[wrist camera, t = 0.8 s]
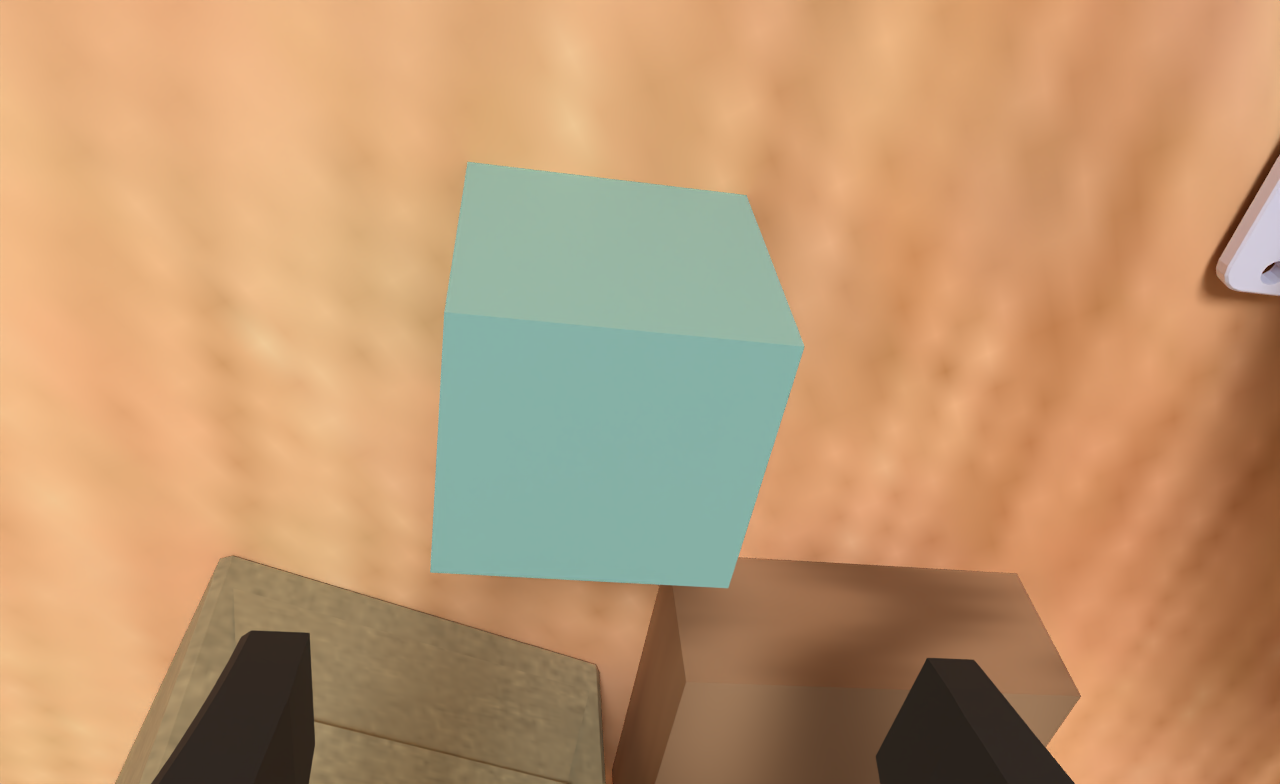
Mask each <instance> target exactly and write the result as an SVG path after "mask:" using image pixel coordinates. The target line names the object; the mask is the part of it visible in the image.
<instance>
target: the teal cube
mask: <svg viewBox="0 0 1280 784" xmlns="http://www.w3.org/2000/svg"><path fill="white" fill-rule="evenodd" d="M803 350H804V344H803V341H802V339H801V336H800V334H799V331H798V328H797V326H796V323H795V321H794V318H793V315H792V313H791V310H790V308H789V305H788V302H787V300H786V297H785V295H784V292H783V289H782V287H781V284H780V282H779V279H778V276H777V274H776V271H775V269H774V266H773V263H772V261H771V258H770V256H769V253H768V250H767V248H766V245H765V243H764V240H763V237H762V235H761V232H760V229H759V227H758V224H757V222H756V219H755V216H754V214H753V211H752V209H751V206H750V203H749V201H748V198H747V196H746V195H741V194H732V193H724V192H715V191H707V190H699V189H690V188H682V187H674V186H665V185H657V184H648V183H640V182H632V181H623V180H615V179H607V178H598V177H590V176H581V175H573V174H565V173H556V172H548V171H539V170H531V169H523V168H514V167H506V166H498V165H489V164H481V163H472V162H468V163H467V169H466V176H465V182H464V189H463V195H462V202H461V208H460V215H459V221H458V228H457V234H456V241H455V247H454V253H453V260H452V266H451V273H450V279H449V286H448V292H447V299H446V305H445V312H444V329H443V348H442V366H441V385H440V403H439V422H438V440H437V459H436V478H435V496H434V515H433V533H432V552H431V570H430V572H432V573H451V574H470V575H488V576H507V577H526V578H545V579H563V580H582V581H601V582H620V583H639V584H657V585H676V586H695V587H714V588H729V584H730V581H731V578H732V575H733V572H734V569H735V565H736V562H737V559H738V556H739V553H740V550H741V546H742V543H743V540H744V537H745V534H746V531H747V527H748V524H749V521H750V518H751V515H752V511H753V508H754V505H755V502H756V499H757V496H758V492H759V489H760V486H761V483H762V480H763V477H764V473H765V470H766V467H767V464H768V461H769V458H770V454H771V451H772V448H773V445H774V442H775V439H776V435H777V432H778V429H779V426H780V423H781V420H782V416H783V413H784V410H785V407H786V404H787V400H788V397H789V394H790V391H791V388H792V385H793V381H794V378H795V375H796V372H797V369H798V366H799V362H800V359H801V356H802V353H803Z"/></svg>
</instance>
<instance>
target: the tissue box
mask: <svg viewBox="0 0 1280 784" xmlns="http://www.w3.org/2000/svg"><path fill="white" fill-rule="evenodd" d="M251 630H256V631H281V632H305V633H310V650H311V669H312V689H313V709H314V729H315V748H314V755H313V761H312V767H311V773H310V779H309V784H606V782H605V765H604V747H603V730H602V712H601V695H600V678H599V670H598V668H597V666H596V665H595V664H592V663H589V662H585V661H582V660H579V659H575V658H572V657H569V656H565V655H562V654H559V653H555V652H552V651H549V650H545V649H542V648H539V647H535V646H532V645H529V644H525V643H522V642H519V641H515V640H512V639H509V638H505V637H502V636H499V635H495V634H492V633H489V632H485V631H482V630H479V629H475V628H472V627H469V626H465V625H462V624H459V623H455V622H452V621H449V620H445V619H442V618H439V617H435V616H432V615H429V614H425V613H422V612H419V611H415V610H412V609H409V608H405V607H402V606H399V605H395V604H392V603H389V602H385V601H382V600H379V599H375V598H372V597H369V596H365V595H362V594H359V593H355V592H352V591H349V590H345V589H342V588H339V587H335V586H332V585H329V584H325V583H322V582H319V581H315V580H312V579H309V578H305V577H302V576H299V575H295V574H292V573H289V572H285V571H282V570H279V569H276V568H272V567H269V566H266V565H262V564H259V563H256V562H252V561H249V560H246V559H242V558H239V557H236V556H229V557H225V558H222V559H220V560H219V562H218V565H217V567H216V569H215V571H214V573H213V575H212V577H211V580H210V582H209V584H208V586H207V588H206V590H205V592H204V594H203V597H202V599H201V601H200V603H199V605H198V607H197V609H196V612H195V614H194V616H193V618H192V620H191V622H190V624H189V627H188V629H187V631H186V633H185V635H184V637H183V639H182V642H181V644H180V646H179V648H178V650H177V652H176V654H175V656H174V659H173V661H172V663H171V665H170V667H169V669H168V671H167V674H166V676H165V678H164V680H163V682H162V684H161V686H160V689H159V691H158V693H157V695H156V697H155V699H154V701H153V703H152V706H151V708H150V710H149V712H148V714H147V716H146V718H145V721H144V723H143V725H142V727H141V729H140V731H139V733H138V736H137V738H136V740H135V742H134V744H133V746H132V748H131V751H130V753H129V755H128V757H127V759H126V761H125V763H124V765H123V768H122V770H121V772H120V774H119V776H118V778H117V780H116V783H115V784H151V783H152V782H153V780H154V779H155V777H156V776H157V774H158V773H159V771H160V770H161V769H162V767H163V766H164V764H165V763H166V761H167V760H168V758H169V757H170V755H171V754H172V753H173V751H174V749H175V748H176V746H177V745H178V743H179V742H180V740H181V739H182V737H183V735H184V734H185V732H186V731H187V729H188V728H189V726H190V724H191V723H192V721H193V720H194V718H195V717H196V715H197V713H198V712H199V710H200V709H201V707H202V705H203V704H204V702H205V700H206V699H207V697H208V695H209V694H210V692H211V690H212V689H213V687H214V685H215V684H216V682H217V680H218V678H219V677H220V675H221V673H222V671H223V670H224V668H225V666H226V664H227V663H228V661H229V659H230V657H231V655H232V653H233V651H234V649H235V647H236V646H237V644H238V642H239V640H240V638H241V637H242V636H243V635H245V634H246V633H248V632H250V631H251Z"/></svg>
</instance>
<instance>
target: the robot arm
mask: <svg viewBox="0 0 1280 784" xmlns="http://www.w3.org/2000/svg"><path fill="white" fill-rule="evenodd" d="M1274 262H1275V265H1274V266H1273V267H1272V268H1271V269H1270V270H1269V271H1267V272H1265V273H1263V274H1262V272H1263V271H1264V270H1265V269H1266V268H1267V266H1269V265H1271V264H1272V263H1274ZM1216 275H1217V277H1218V278H1219V279H1220V280H1221V281H1222V282H1223V283H1224V284H1225V285H1226V286H1227V287H1228V288H1229V289H1232V290H1235V291H1238V292H1247V293H1256V294H1264V295H1273V296H1280V155H1279V157H1278V158H1277V160H1276V162H1275V164H1274V165H1273V167H1272V169H1271V171H1270V172H1269V174H1268V176H1267V177H1266V179H1265V181H1264V183H1263V184H1262V186H1261V188H1260V189H1259V191H1258V193H1257V195H1256V196H1255V198H1254V200H1253V201H1252V203H1251V205H1250V207H1249V208H1248V210H1247V212H1246V214H1245V215H1244V217H1243V219H1242V220H1241V222H1240V224H1239V226H1238V227H1237V229H1236V231H1235V232H1234V234H1233V236H1232V238H1231V239H1230V241H1229V243H1228V245H1227V246H1226V248H1225V250H1224V251H1223V253H1222V255H1221V257H1220V258H1219V261H1218V263H1217V266H1216ZM314 748H315V729H314V709H313V689H312V669H311V650H310V633H305V632H281V631H256V630H251V631H250V632H248V633H246V634H245V635H243V636H242V637H241V638H240V640H239V642H238V644H237V646H236V647H235V649H234V651H233V653H232V655H231V657H230V659H229V661H228V663H227V664H226V666H225V668H224V670H223V671H222V673H221V675H220V677H219V678H218V680H217V682H216V684H215V685H214V687H213V689H212V690H211V692H210V694H209V695H208V697H207V699H206V700H205V702H204V704H203V705H202V707H201V709H200V710H199V712H198V713H197V715H196V717H195V718H194V720H193V721H192V723H191V724H190V726H189V728H188V729H187V731H186V732H185V734H184V735H183V737H182V739H181V740H180V742H179V743H178V745H177V746H176V748H175V749H174V751H173V753H172V754H171V755H170V757H169V758H168V760H167V761H166V763H165V764H164V766H163V767H162V769H161V770H160V771H159V773H158V774H157V776H156V777H155V779H154V780H153V782H152V783H151V784H309V779H310V773H311V767H312V761H313V755H314ZM876 762H877V768H878V774H879V780H880V784H1075V783H1074V782H1073V781H1072V780H1071V778H1070V777H1069V776H1068V775H1067V774H1066V772H1065V771H1064V770H1063V769H1062V767H1061V766H1060V765H1059V764H1058V762H1057V761H1056V760H1055V759H1054V758H1053V756H1052V755H1051V754H1050V753H1049V751H1048V750H1047V749H1046V748H1045V746H1044V745H1043V744H1042V743H1041V742H1040V740H1039V739H1038V738H1037V737H1036V735H1035V734H1034V733H1033V732H1032V730H1031V729H1030V728H1029V727H1028V725H1027V724H1026V723H1025V722H1024V720H1023V719H1022V718H1021V717H1020V715H1019V714H1018V713H1017V712H1016V711H1015V709H1014V708H1013V707H1012V706H1011V704H1010V703H1009V702H1008V701H1007V699H1006V698H1005V697H1004V696H1003V694H1002V693H1001V692H1000V691H999V689H998V688H997V687H996V686H995V684H994V683H993V682H992V681H991V680H990V678H989V677H988V676H987V675H986V673H985V672H984V671H983V670H982V669H981V667H980V666H979V665H978V664H977V663H976V661H975V660H971V659H947V658H927V659H926V661H925V663H924V665H923V667H922V669H921V671H920V672H919V674H918V676H917V678H916V680H915V682H914V684H913V686H912V688H911V690H910V692H909V693H908V695H907V697H906V699H905V701H904V703H903V705H902V707H901V709H900V711H899V713H898V714H897V716H896V718H895V720H894V722H893V724H892V726H891V728H890V730H889V732H888V733H887V735H886V737H885V739H884V741H883V743H882V745H881V747H880V749H879V751H878V753H877V754H876Z"/></svg>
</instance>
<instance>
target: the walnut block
mask: <svg viewBox="0 0 1280 784" xmlns="http://www.w3.org/2000/svg"><path fill="white" fill-rule="evenodd" d="M927 658H947V659H971V660H975V661H976V663H977V664H978V665H979V666H980V667H981V669H982V670H983V671H984V672H985V673H986V675H987V676H988V677H989V678H990V680H991V681H992V682H993V683H994V684H995V686H996V687H997V688H998V689H999V691H1000V692H1001V693H1002V694H1003V696H1004V697H1005V698H1006V699H1007V701H1008V702H1009V703H1010V704H1011V706H1012V707H1013V708H1014V709H1015V711H1016V712H1017V713H1018V714H1019V715H1020V717H1021V718H1022V719H1023V720H1024V722H1025V723H1026V724H1027V725H1028V727H1029V728H1030V729H1031V730H1032V732H1033V733H1034V734H1035V735H1036V737H1037V738H1038V739H1039V740H1040V742H1041V743H1042V744H1043V745H1044V746H1045V748H1046V746H1047V745H1048V743H1049V742H1050V740H1051V739H1052V737H1053V736H1054V735H1055V733H1056V732H1057V730H1058V729H1059V727H1060V726H1061V724H1062V723H1063V722H1064V720H1065V719H1066V717H1067V716H1068V714H1069V713H1070V711H1071V710H1072V709H1073V707H1074V706H1075V704H1076V703H1077V701H1078V700H1079V698H1080V697H1081V695H1080V693H1079V691H1078V689H1077V688H1076V686H1075V684H1074V682H1073V680H1072V678H1071V676H1070V674H1069V672H1068V670H1067V668H1066V667H1065V665H1064V663H1063V661H1062V659H1061V657H1060V655H1059V653H1058V651H1057V649H1056V647H1055V646H1054V644H1053V642H1052V640H1051V638H1050V636H1049V634H1048V632H1047V630H1046V628H1045V626H1044V625H1043V623H1042V621H1041V619H1040V617H1039V615H1038V613H1037V611H1036V609H1035V607H1034V605H1033V604H1032V602H1031V600H1030V598H1029V596H1028V594H1027V592H1026V590H1025V588H1024V586H1023V584H1022V583H1021V581H1020V579H1019V577H1018V575H1017V574H1016V573H998V572H981V571H964V570H947V569H929V568H912V567H895V566H877V565H860V564H843V563H826V562H808V561H791V560H774V559H757V558H739V557H738V559H737V562H736V565H735V569H734V572H733V575H732V578H731V581H730V584H729V588H714V587H695V586H676V585H660V586H659V590H658V594H657V597H656V601H655V605H654V609H653V613H652V617H651V621H650V625H649V629H648V632H647V636H646V640H645V644H644V648H643V652H642V656H641V660H640V663H639V667H638V671H637V675H636V679H635V683H634V687H633V691H632V695H631V698H630V702H629V706H628V710H627V714H626V718H625V722H624V726H623V730H622V733H621V737H620V741H619V745H618V749H617V753H616V757H615V761H614V764H613V768H612V778H613V784H880V780H879V774H878V768H877V762H876V754H877V753H878V751H879V749H880V747H881V745H882V743H883V741H884V739H885V737H886V735H887V733H888V732H889V730H890V728H891V726H892V724H893V722H894V720H895V718H896V716H897V714H898V713H899V711H900V709H901V707H902V705H903V703H904V701H905V699H906V697H907V695H908V693H909V692H910V690H911V688H912V686H913V684H914V682H915V680H916V678H917V676H918V674H919V672H920V671H921V669H922V667H923V665H924V663H925V661H926V659H927Z"/></svg>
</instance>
